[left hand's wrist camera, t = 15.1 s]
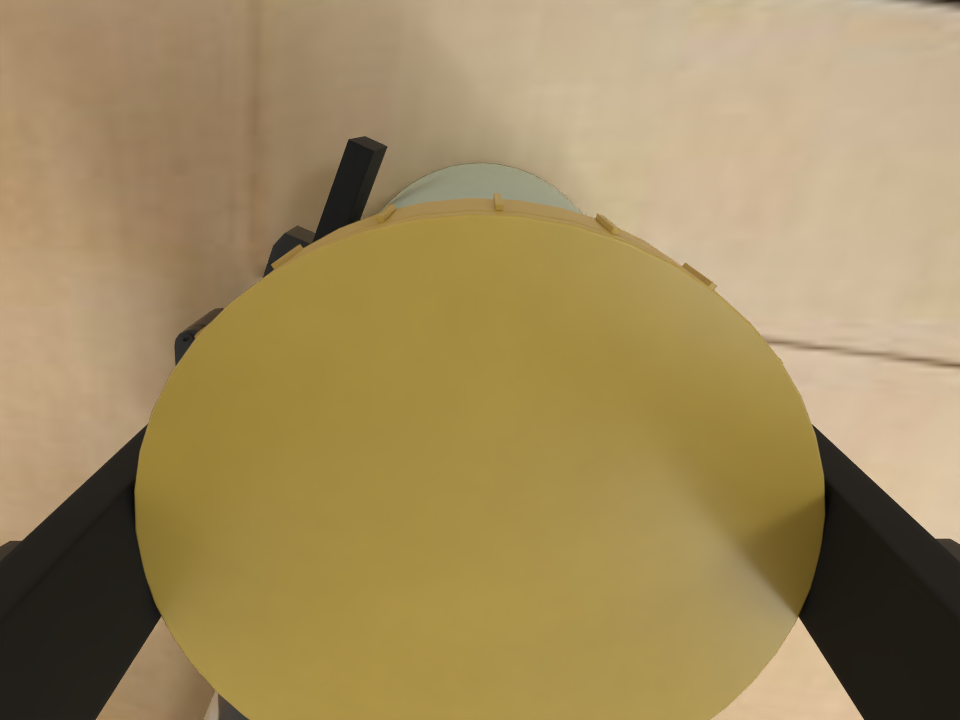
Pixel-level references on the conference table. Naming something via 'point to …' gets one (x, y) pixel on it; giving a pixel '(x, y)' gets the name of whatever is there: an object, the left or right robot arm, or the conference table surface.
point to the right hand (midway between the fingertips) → (535, 219)
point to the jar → (481, 186)
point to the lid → (479, 479)
